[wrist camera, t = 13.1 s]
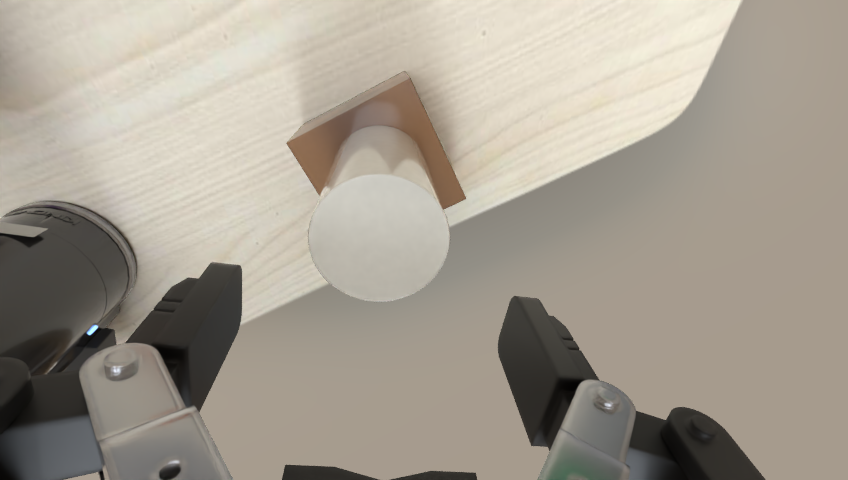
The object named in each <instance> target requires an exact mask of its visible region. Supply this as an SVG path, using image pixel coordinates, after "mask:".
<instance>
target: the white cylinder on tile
mask: <svg viewBox="0 0 848 480" xmlns="http://www.w3.org/2000/svg"><path fill="white" fill-rule="evenodd" d="M308 243H309V250H310V253H311V257H312V259H313V262H314V264H315V266H316V267H317V269H318V271H319V272H320V274H321V275H322V276H323V277H324V278H325V279H326V280H327V281H328V282H329V283H330V284H331V285H332V286H333V287H335V288H336V289H338V290H339V291H341V292H343V293H345V294H347V295H349V296H351V297H354V298H357V299H361V300H366V301H375V302H383V301H392V300H398V299H401V298H404V297H407V296H409V295H412V294H414V293H416V292H417V291H419V290H421V289H422V288H423V287H425V286H426V285H427V284H428V283H429V282H430V281H432V280H433V279H434V277H435V276H436V275H437V274H438V273H439V271H440V269H441V268H442V266H443V264H444V262H445V260H446V257H447V254H448V250H449V244H450V231H449V225H448V221H447V218H446V215H445V212H444V209H443V207H442V204H441V201H440V199H439V196H438V193H437V190H436V188H435V185H434V182H433V179H432V177H431V174H430V171H429V169H428V166H427V163H426V160H425V158H424V155H423V153H422V151H421V149H420V147H419V146H418V144H417V143H416V142H415V141H414V140H413V139H412V138H411V137H410V136H409V135H407V134H406V133H405V132H403V131H401V130H399V129H396V128H394V127H390V126H384V125H374V126H368V127H365V128H362V129H360V130H357V131H356V132H354V133H352V134H351V135H350V136H349V137H347V138H346V139H345V141H344V142H343V143H342V144H341V146H340V147H339V149H338V151H337V153H336V156H335V158H334V161H333V163H332V166H331V169H330V171H329V174H328V176H327V179H326V182H325V184H324V187H323V189H322V192H321V194H320V197H319V200H318V202H317V205H316V207H315V210H314V213H313V215H312V218H311V221H310V225H309V232H308Z"/></svg>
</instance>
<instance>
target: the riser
mask: <svg viewBox="0 0 848 480" xmlns="http://www.w3.org/2000/svg"><path fill="white" fill-rule="evenodd" d="M374 125H384V126H390V127H394V128H396V129H399V130H401V131H403V132H405V133H406V134H407V135H409V136H410V137H411V138H412V139H413V140H414V141H415V142H416V143H417V144H418V146H419V147H420V149H421V151H422V153H423V155H424V158H425V160H426V163H427V166H428V169H429V171H430V174H431V177H432V179H433V182H434V185H435V188H436V190H437V193H438V196H439V199H440V201H441V204H442V207H443V209H446V208H448V207H450V206H452V205H454V204H456V203H458V202H460V201H462V200H464V199H466V197H465V195H464V193H463V191H462V188H461V186H460V184H459V182H458V180H457V178H456V176H455V173H454V171H453V169H452V167H451V165H450V163H449V161H448V158H447V156H446V154H445V152H444V150H443V148H442V145H441V143H440V141H439V139H438V137H437V135H436V133H435V130H434V128H433V126H432V124H431V122H430V120H429V118H428V115H427V113H426V111H425V109H424V107H423V105H422V102H421V100H420V98H419V96H418V94H417V92H416V90H415V87H414V85H413V83H412V81H411V79H410V77H409V76H408V75H407V73H406V72H405V71H403V72H402V73H400V74H398V75H396V76H394V77H392V78H390V79H388V80H386V81H384V82H383V83H381V84H379V85H377V86H375V87H373V88H371V89H369V90H367V91H365V92H364V93H362V94H360V95H358V96H356V97H354V98H352V99H350V100H348V101H346V102H345V103H343V104H341V105H339V106H337V107H335V108H333V109H331V110H329V111H327V112H326V113H324V114H322V115H320V116H318V117H316V118H314V119H312V120H310V121H308V122H307V123H305V124H303V125H302V126H301V127H300V128H299V130H298V131H297V132H296V133H295V134H294V135H293V136H292V137H291V138H290V140H289V141H288V142H287V145H288V146H289V148H290V149H291V151H292V153H293V154H294V156H295V157H296V159H297V161H298V162H299V164H300V165H301V167H302V169H303V170H304V172H305V173H306V175H307V176H308V178H309V180H310V181H311V183H312V184H313V186H314V188H315V189H316V191H317V192H318V194H319V196H320V194H321V192H322V189H323V187H324V184H325V182H326V179H327V176H328V174H329V171H330V169H331V166H332V163H333V161H334V158H335V156H336V153H337V151H338V149H339V147H340V146H341V144H342V143H343V142H344V141H345V139H346V138H347V137H349V136H350V135H351V134H352V133H354V132H356V131H357V130H360V129H362V128H365V127H368V126H374Z"/></svg>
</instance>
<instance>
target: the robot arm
mask: <svg viewBox="0 0 848 480" xmlns="http://www.w3.org/2000/svg"><path fill="white" fill-rule="evenodd" d="M135 280H136V263H135V259H134V256H133V253H132V251H131V249H130V247H129V245H128V243H127V242H126V240H125V239H124V238H123V236H122V235H121V234H120V233H119V232H118V231H117V230H116V229H115V228H114V227H113V226H112V225H111V224H109V223H108V222H107V221H105V220H104V219H103V218H101V217H99V216H98V215H96V214H94V213H92V212H90V211H88V210H86V209H84V208H81V207H78V206H75V205H72V204H67V203H62V202H53V201H44V202H36V203H31V204H27V205H24V206H22V207H20V208H18V209H15V210H13V211H11V212H9V213H8V214H6V215H5V216H3V217H2V218H0V480H64V479H68V478H72V477H77V476H82V475H86V474H91V473H95V472H98V475H99V479H100V480H233V478H232V476H231V474H230V472H229V470H228V468H227V466H226V464H225V463H224V461H223V459H222V457H221V455H220V453H219V451H218V449H217V447H216V445H215V443H214V441H213V439H212V437H211V435H210V434H209V431H208V429H207V427H206V425H205V423H204V421H203V419H202V417H201V416H200V414H199V412H200V410H201V407H202V405H203V403H204V401H205V399H206V397H207V395H208V393H209V391H210V389H211V387H212V385H213V383H214V381H215V378H216V376H217V374H218V372H219V370H220V368H221V366H222V364H223V362H224V360H225V358H226V355H227V354H228V351H229V349H230V347H231V345H232V343H233V341H234V339H235V337H236V335H237V333H238V330H239V326H240V322H241V315H242V269H241V266H240V265H232V264H223V263H214V262H212V263H210V265H209V266H208V267H207V269H206V270H205V271H204V273H203V274H202V275H201V277H200V278H199V279H196V278H187V279H185V280H183V281H181V282H180V283H178V284H176V285H174V286H172V287H171V288H170V290H169V291H168V292H167V293H166V294H165V296H164V297H163V298H162V301H160V302H159V303H158V304H157V305H156V306H155V308H154V311H151V312H150V314H149V315H148V316H147V317H146V319H145V320H144V321H143V322H142V323H141V325H140V326H139V327H138V328H137V329H136V331H135V332H134V333H133V334H132V335H131V337H130V338H129V339H128V340H127V341H126V343H125V344H119V345H116V338H115V331H114V329H109V328H105V327H106V326H107V325H108V324H109V323H110V322H111V321H112V320H113V319H114V318H115V317H116V316H117V315H118V314H119V312H120V309H119V304H120V303H121V302H122V301H123V300H124V299H125V298H126V297H127V296H128V295H129V293H130V292H131V290H132V288H133V286H134V283H135ZM498 353H499V358H500V361H501V363H502V366H503V369H504V372H505V374H506V377H507V380H508V383H509V385H510V388H511V391H512V394H513V396H514V399H515V402H516V405H517V407H518V410H519V413H520V415H521V418H522V421H523V424H524V427H525V429H526V432H527V435H528V438H529V441H530V443H531V446H545V447H548V448H549V451H550V452H549V454H548V456H547V459H546V461H545V464H544V466H543V468H542V470H541V472H540V475H539V477H538V479H537V480H765V478H764V477H763V476H762V475H761V473H760V472H759V471H758V470H757V469H756V467H755V466H754V465H753V464H752V462H751V461H750V460H749V459H748V457H747V456H746V455H745V454H744V452H743V451H742V450H741V449H740V447H739V446H738V445H737V444H736V442H735V441H734V440H733V439H732V437H731V436H730V435H729V434H728V433H727V432H726V430H725V429H724V428H723V427H722V426H720V425H719V424H718V423H717V422H716V421H714V420H713V419H711V418H710V417H708V416H707V415H705V414H703V413H701V412H699V411H696V410H693V409H690V408H685V407H678V408H674V409H673V410H672V411H671V412H670V414H669V416H668V418H667V419H666V420H663V419H660V418H657V417H654V416H651V415H647V414H644V413H641V412H638V411H636V409H635V406H634V404H633V403H632V401H631V400H630V399H629V397H628V396H627V395H626V394H624V393H623V392H622V391H621V390H619V389H618V388H616V387H615V386H613V385H611V384H609V383H606V382H603V381H600V380H599V379H598V377H597V376H596V374H595V372H594V371H593V369H592V368H591V366H590V364H589V363H588V361H587V360H586V358H585V357H584V355H583V353H582V352H581V351H579V347H578V345H577V344H576V342H575V341H573V337H572V336H571V334H570V332H569V331H568V329H567V328H566V327H565V326H564V325H563V324H562V323H561V322H560V321H558V320H557V319H556V318H555V317H554V316H549V315H548V313H547V312H546V310H545V308H544V307H543V305H542V303H541V302H540V300H539V299H537V298H528V297H519V296H514V297H513V298H512V299H511V301H510V303H509V307H508V310H507V313H506V316H505V319H504V323H503V326H502V329H501V332H500V336H499V341H498ZM282 480H378V479H375V478H371V477H368V476H364V475H361V474H357V473H354V472H350V471H347V470H344V469H340V468H337V467H324V466H300V465H285V469H284V473H283V478H282ZM391 480H477V477H476V473H465V472H443V471H429V472H424V473H420V474H415V475H411V476H406V477H401V478H396V479H391Z"/></svg>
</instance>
